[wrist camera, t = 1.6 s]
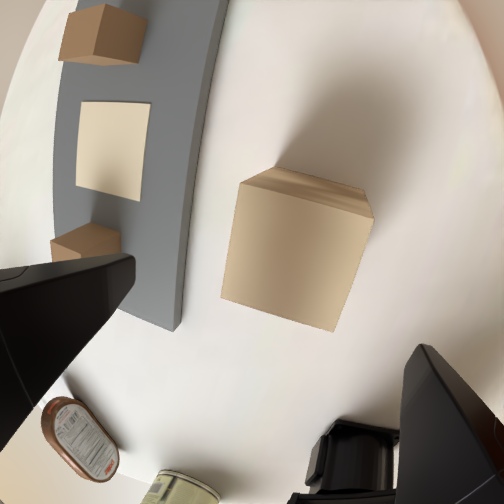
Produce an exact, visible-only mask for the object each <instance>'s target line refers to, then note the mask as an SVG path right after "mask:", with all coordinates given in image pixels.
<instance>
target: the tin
mask: <svg viewBox="0 0 504 504" xmlns="http://www.w3.org/2000/svg"><path fill="white" fill-rule="evenodd" d="M41 427H42V431H43V434H44V437H45V438H46V440H47V442H48V443H49V444H50V445H51V446H52V447H53V448H54V450H55V451H56V452H57V453H58V454H59V455H60V456H61V457H62V458H63V459H64V461H65V462H66V463H67V464H68V465H69V466H70V467H71V468H72V469H73V470H74V471H75V472H76V473H77V474H78V475H79V476H80V477H82V478H84V479H87V480H91V481H93V482H97V483H103V482H107V481H109V480H110V479H111V478H112V477H113V475H114V474H115V472H116V470H117V468H118V466H119V451H118V448H117V446H116V444H115V442H114V441H113V440H112V438H111V437H110V436H109V435H108V434H107V432H106V431H105V430H104V429H103V427H102V426H101V425H100V423H99V422H98V421H97V420H96V418H95V417H94V415H93V414H92V413H91V411H90V410H89V409H88V408H87V406H86V405H85V404H83V403H82V402H80V401H78V400H75V399H71V398H68V397H64V396H60V397H56V398H53V399H52V400H50V401H49V402H48V403H47V404H46V406H45V407H44V410H43V412H42V416H41Z"/></svg>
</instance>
